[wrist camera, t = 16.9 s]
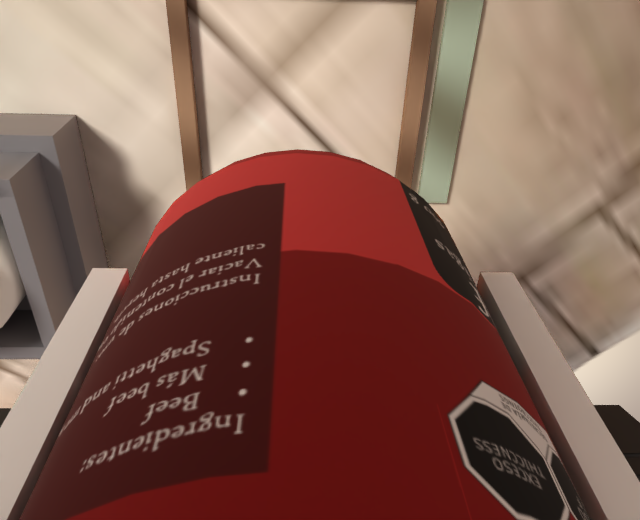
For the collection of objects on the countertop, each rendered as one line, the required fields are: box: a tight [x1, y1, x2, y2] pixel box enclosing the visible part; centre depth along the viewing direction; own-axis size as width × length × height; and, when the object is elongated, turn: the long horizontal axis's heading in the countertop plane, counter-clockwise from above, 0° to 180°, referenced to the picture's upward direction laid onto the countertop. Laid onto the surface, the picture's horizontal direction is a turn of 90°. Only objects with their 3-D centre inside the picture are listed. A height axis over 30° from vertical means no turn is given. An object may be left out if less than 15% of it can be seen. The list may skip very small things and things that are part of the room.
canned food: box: [19, 150, 591, 520], centre depth 10 cm, size 8×8×11 cm
